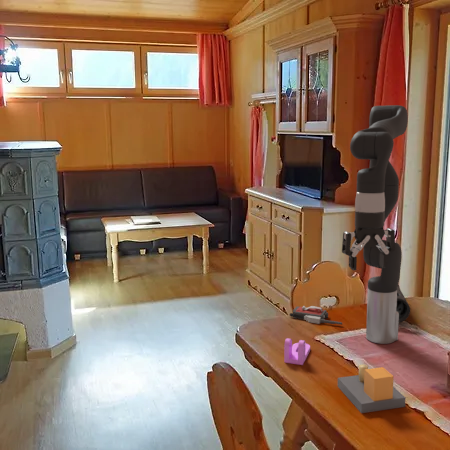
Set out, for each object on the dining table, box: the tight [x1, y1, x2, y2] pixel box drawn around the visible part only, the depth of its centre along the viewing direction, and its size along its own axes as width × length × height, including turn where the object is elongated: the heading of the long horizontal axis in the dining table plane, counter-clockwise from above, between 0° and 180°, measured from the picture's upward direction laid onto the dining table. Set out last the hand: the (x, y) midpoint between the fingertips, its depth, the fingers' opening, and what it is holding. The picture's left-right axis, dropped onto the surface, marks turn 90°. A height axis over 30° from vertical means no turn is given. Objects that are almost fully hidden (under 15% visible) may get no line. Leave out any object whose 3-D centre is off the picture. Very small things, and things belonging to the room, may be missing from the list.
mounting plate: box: [337, 363, 407, 414], centre depth 139 cm, size 12×14×6 cm
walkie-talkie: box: [289, 305, 343, 325], centre depth 193 cm, size 9×4×20 cm
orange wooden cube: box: [364, 366, 394, 401], centre depth 134 cm, size 5×5×6 cm
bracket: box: [283, 337, 311, 366], centre depth 164 cm, size 13×6×7 cm, turn 159°
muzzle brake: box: [396, 284, 411, 323], centre depth 199 cm, size 10×28×10 cm, turn 172°
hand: (367, 268), depth 142 cm, fingers open, 8 cm apart
